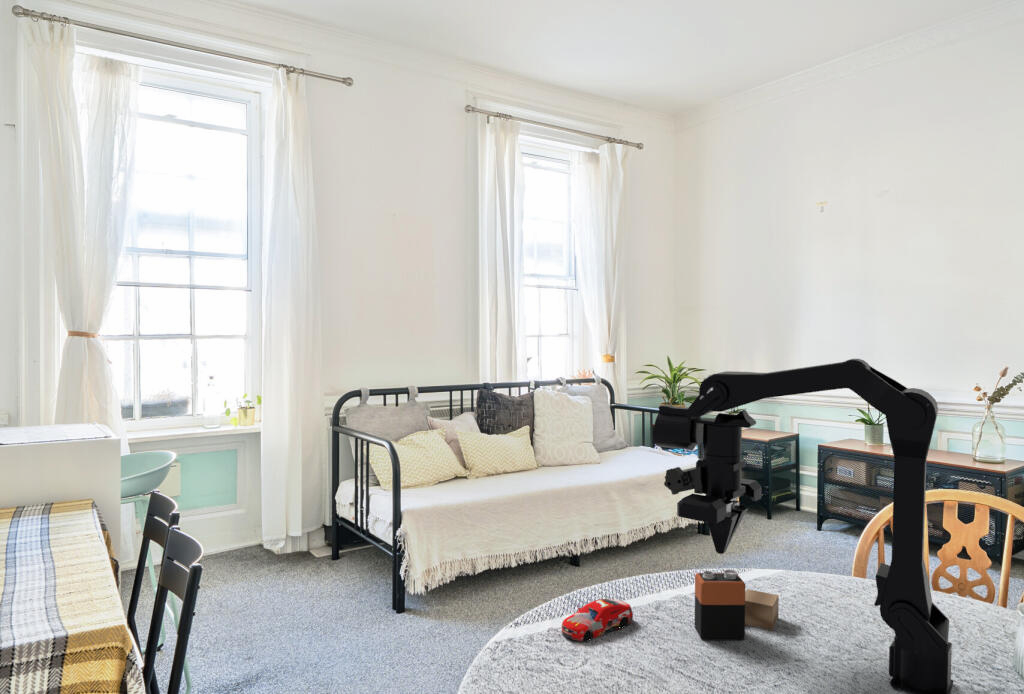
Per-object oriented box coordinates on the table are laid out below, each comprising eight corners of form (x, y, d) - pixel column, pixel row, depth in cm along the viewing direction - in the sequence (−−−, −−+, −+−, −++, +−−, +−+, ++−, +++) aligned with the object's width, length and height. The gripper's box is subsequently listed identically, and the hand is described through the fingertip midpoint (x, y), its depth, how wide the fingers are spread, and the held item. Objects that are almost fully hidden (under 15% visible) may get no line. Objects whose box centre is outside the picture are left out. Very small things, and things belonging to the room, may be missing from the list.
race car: (576, 648, 103) (576, 622, 103) (554, 634, 108) (554, 609, 108) (638, 624, 111) (638, 600, 111) (615, 613, 115) (615, 589, 115)
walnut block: (778, 619, 113) (778, 595, 112) (772, 631, 108) (772, 606, 108) (747, 612, 115) (747, 589, 115) (740, 623, 111) (740, 599, 111)
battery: (745, 641, 105) (746, 577, 104) (701, 641, 105) (701, 577, 104) (736, 628, 109) (737, 566, 108) (693, 628, 109) (694, 566, 109)
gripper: (698, 439, 118) (697, 528, 119) (645, 456, 104) (644, 557, 104) (763, 447, 111) (762, 542, 111) (716, 466, 96) (714, 575, 97)
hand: (720, 553), depth 106 cm, fingers closed
